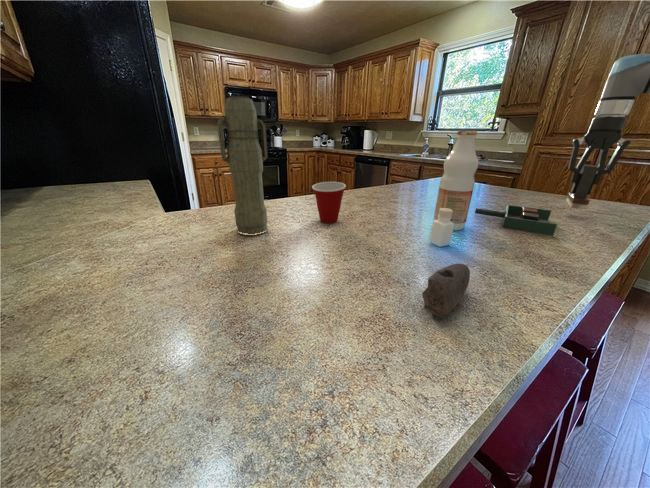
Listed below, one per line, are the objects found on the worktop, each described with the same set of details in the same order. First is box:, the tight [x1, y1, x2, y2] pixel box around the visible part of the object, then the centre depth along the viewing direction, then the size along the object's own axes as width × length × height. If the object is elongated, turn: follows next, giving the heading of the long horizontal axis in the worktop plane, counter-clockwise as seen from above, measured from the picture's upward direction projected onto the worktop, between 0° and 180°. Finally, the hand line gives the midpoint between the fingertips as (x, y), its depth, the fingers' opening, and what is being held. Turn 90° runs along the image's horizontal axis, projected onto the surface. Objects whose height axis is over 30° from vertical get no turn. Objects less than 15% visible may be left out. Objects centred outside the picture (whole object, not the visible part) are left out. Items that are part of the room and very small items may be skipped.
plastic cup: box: [311, 181, 347, 224], centre depth 86 cm, size 11×11×12 cm
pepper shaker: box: [429, 208, 454, 248], centre depth 70 cm, size 4×4×10 cm
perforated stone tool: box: [421, 263, 471, 319], centre depth 46 cm, size 15×5×7 cm, turn 135°
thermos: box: [216, 95, 269, 237], centre depth 72 cm, size 9×12×35 cm
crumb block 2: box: [521, 212, 540, 221], centre depth 85 cm, size 4×4×4 cm
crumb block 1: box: [519, 207, 538, 219], centre depth 90 cm, size 4×4×4 cm
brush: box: [566, 164, 598, 210], centre depth 90 cm, size 4×12×13 cm, turn 146°
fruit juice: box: [432, 130, 479, 231], centre depth 80 cm, size 9×9×28 cm
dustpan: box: [474, 204, 558, 236], centre depth 90 cm, size 22×18×4 cm
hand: (579, 193), depth 91 cm, fingers closed on brush, 3 cm apart
